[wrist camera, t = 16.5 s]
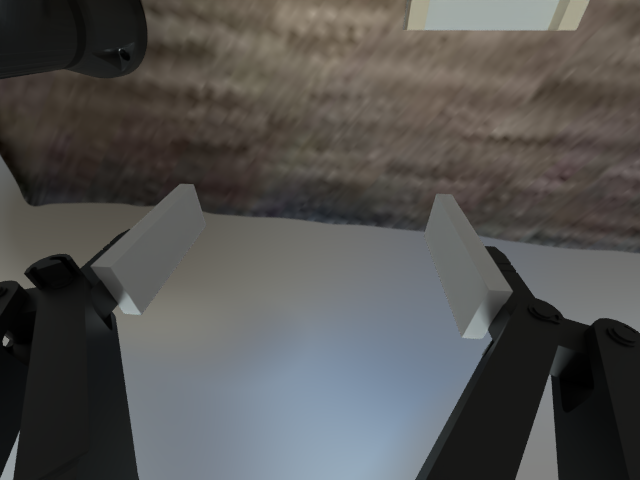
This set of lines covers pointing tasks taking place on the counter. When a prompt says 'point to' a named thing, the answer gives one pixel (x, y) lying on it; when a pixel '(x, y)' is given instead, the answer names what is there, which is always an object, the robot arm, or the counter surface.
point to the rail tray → (493, 14)
